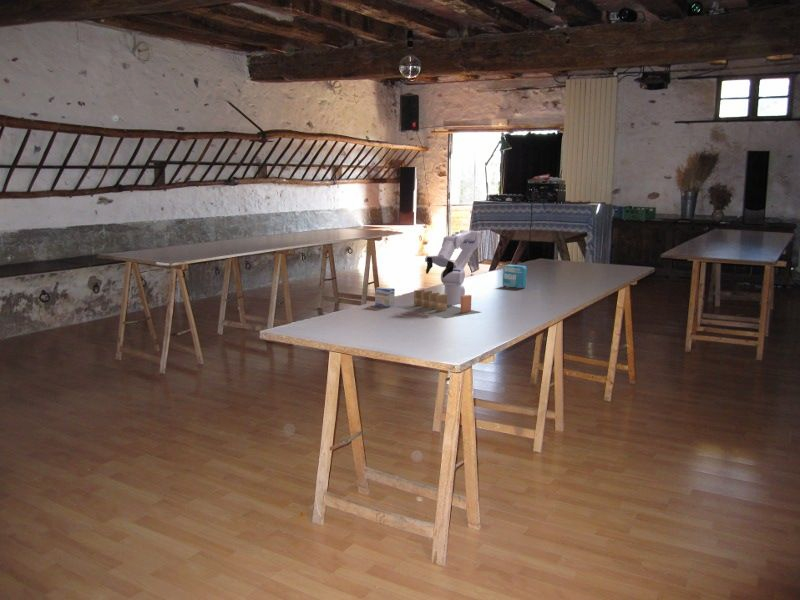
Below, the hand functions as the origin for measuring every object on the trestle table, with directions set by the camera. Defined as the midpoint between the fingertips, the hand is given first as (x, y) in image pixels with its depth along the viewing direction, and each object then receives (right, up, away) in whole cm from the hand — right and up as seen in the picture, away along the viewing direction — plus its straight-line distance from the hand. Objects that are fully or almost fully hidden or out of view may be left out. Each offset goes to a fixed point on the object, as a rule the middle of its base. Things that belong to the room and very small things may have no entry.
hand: (435, 274), depth 299 cm
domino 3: (0, -15, +7) cm, 17 cm away
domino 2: (-3, -15, +11) cm, 18 cm away
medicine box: (-22, -15, +13) cm, 30 cm away
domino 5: (+14, -17, +1) cm, 21 cm away
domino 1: (-7, -14, +14) cm, 21 cm away
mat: (+2, -16, +6) cm, 17 cm away
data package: (+47, -5, +73) cm, 87 cm away
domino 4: (+3, -16, +3) cm, 17 cm away
